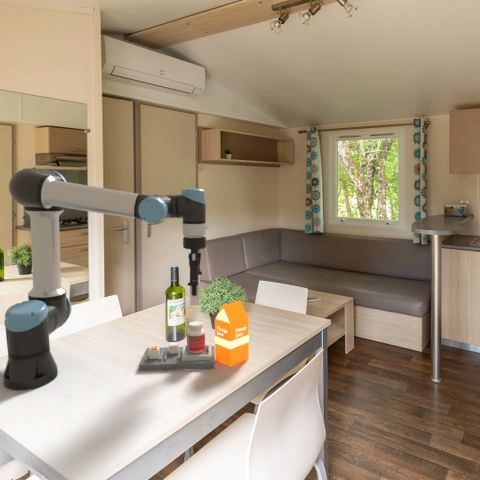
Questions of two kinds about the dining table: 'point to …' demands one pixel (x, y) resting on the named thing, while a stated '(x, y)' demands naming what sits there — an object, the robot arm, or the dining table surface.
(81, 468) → the dining table surface
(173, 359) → the panel
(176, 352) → the toggle plain
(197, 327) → the pill bottle
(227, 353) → the orange juice
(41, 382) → the robot arm
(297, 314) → the dining table surface
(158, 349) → the block
